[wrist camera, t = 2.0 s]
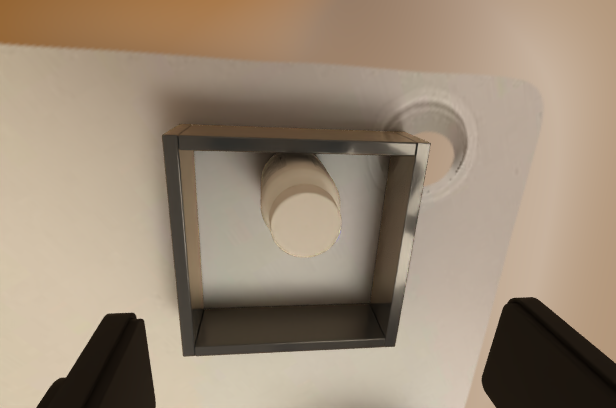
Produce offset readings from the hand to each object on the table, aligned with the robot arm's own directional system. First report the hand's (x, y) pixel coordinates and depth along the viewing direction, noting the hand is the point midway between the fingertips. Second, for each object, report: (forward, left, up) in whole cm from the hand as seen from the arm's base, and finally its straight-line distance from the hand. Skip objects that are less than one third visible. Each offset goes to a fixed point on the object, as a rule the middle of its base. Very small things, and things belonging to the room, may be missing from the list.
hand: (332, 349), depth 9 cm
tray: (+1, +4, -16) cm, 16 cm away
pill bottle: (0, 0, -16) cm, 16 cm away
